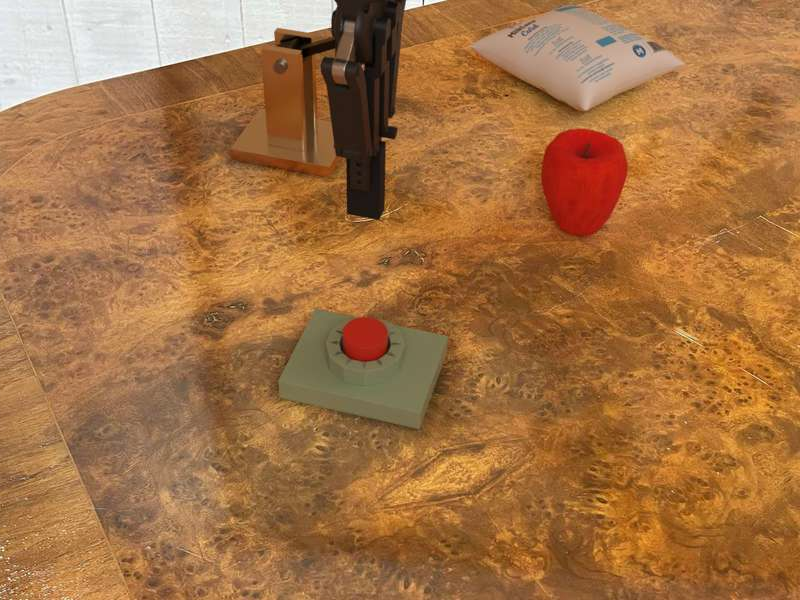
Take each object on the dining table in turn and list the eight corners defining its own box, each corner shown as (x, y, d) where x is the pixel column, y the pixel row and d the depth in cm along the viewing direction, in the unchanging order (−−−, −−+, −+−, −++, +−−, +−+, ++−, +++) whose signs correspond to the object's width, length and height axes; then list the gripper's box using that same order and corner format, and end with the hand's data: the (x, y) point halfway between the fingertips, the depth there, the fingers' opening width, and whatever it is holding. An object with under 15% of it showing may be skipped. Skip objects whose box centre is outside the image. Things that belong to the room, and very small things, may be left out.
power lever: (402, 33, 114) (388, 2, 112) (392, 49, 111) (379, 18, 109) (291, 65, 120) (276, 36, 118) (279, 80, 117) (264, 52, 116)
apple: (518, 214, 116) (528, 130, 109) (583, 192, 120) (596, 109, 112) (566, 260, 111) (580, 174, 103) (632, 236, 114) (650, 151, 107)
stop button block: (279, 397, 95) (276, 366, 93) (316, 324, 103) (314, 293, 100) (419, 429, 93) (421, 398, 90) (447, 352, 100) (449, 321, 97)
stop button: (336, 356, 94) (336, 342, 93) (350, 327, 97) (350, 313, 96) (380, 366, 93) (380, 352, 92) (392, 336, 96) (393, 322, 95)
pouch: (693, 34, 132) (572, -27, 142) (590, 88, 122) (469, 19, 133) (680, 89, 137) (565, 26, 148) (580, 145, 128) (465, 74, 138)
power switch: (354, 135, 127) (353, 30, 118) (330, 177, 121) (326, 69, 112) (260, 119, 130) (251, 14, 120) (231, 159, 123) (220, 51, 114)
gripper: (393, -26, 64) (387, 271, 80) (446, -105, 74) (431, 175, 90) (277, -44, 66) (293, 252, 82) (343, -119, 75) (346, 159, 91)
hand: (365, 211), depth 86 cm, fingers closed
